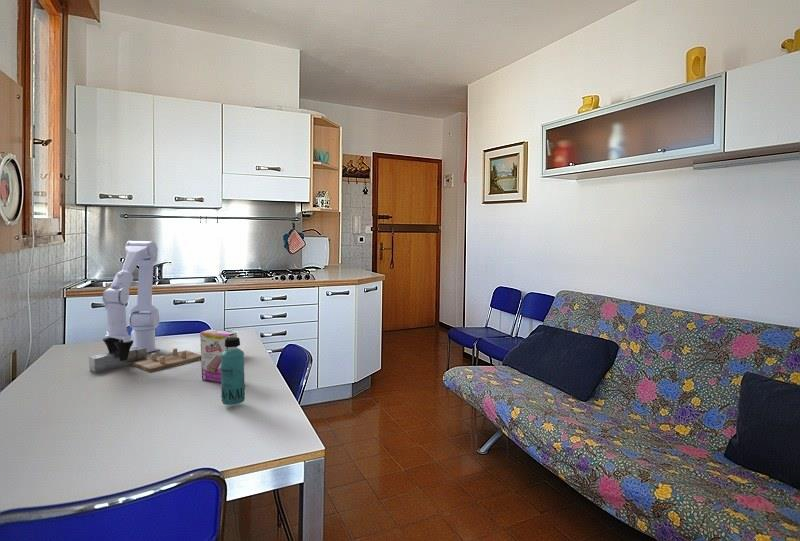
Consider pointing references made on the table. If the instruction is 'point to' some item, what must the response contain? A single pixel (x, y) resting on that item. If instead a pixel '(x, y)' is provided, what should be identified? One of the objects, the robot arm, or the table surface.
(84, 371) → the table surface
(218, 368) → the candy bar box
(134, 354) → the gray notched long block
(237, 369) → the beverage bottle
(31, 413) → the table surface
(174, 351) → the peg rack
